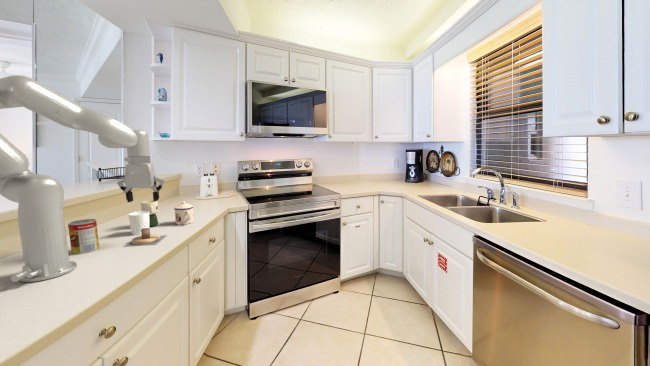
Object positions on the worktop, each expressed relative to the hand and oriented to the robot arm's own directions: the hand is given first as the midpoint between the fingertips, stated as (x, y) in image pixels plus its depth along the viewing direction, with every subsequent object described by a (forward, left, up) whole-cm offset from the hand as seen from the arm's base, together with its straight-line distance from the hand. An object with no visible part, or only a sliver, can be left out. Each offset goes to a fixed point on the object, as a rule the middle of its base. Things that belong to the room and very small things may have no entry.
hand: (143, 201), depth 107 cm
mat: (0, 0, -18) cm, 18 cm away
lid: (0, 0, -17) cm, 17 cm away
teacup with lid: (+28, -7, -18) cm, 34 cm away
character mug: (+26, +9, -18) cm, 33 cm away
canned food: (-7, +18, -18) cm, 27 cm away
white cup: (+13, +8, -18) cm, 24 cm away
